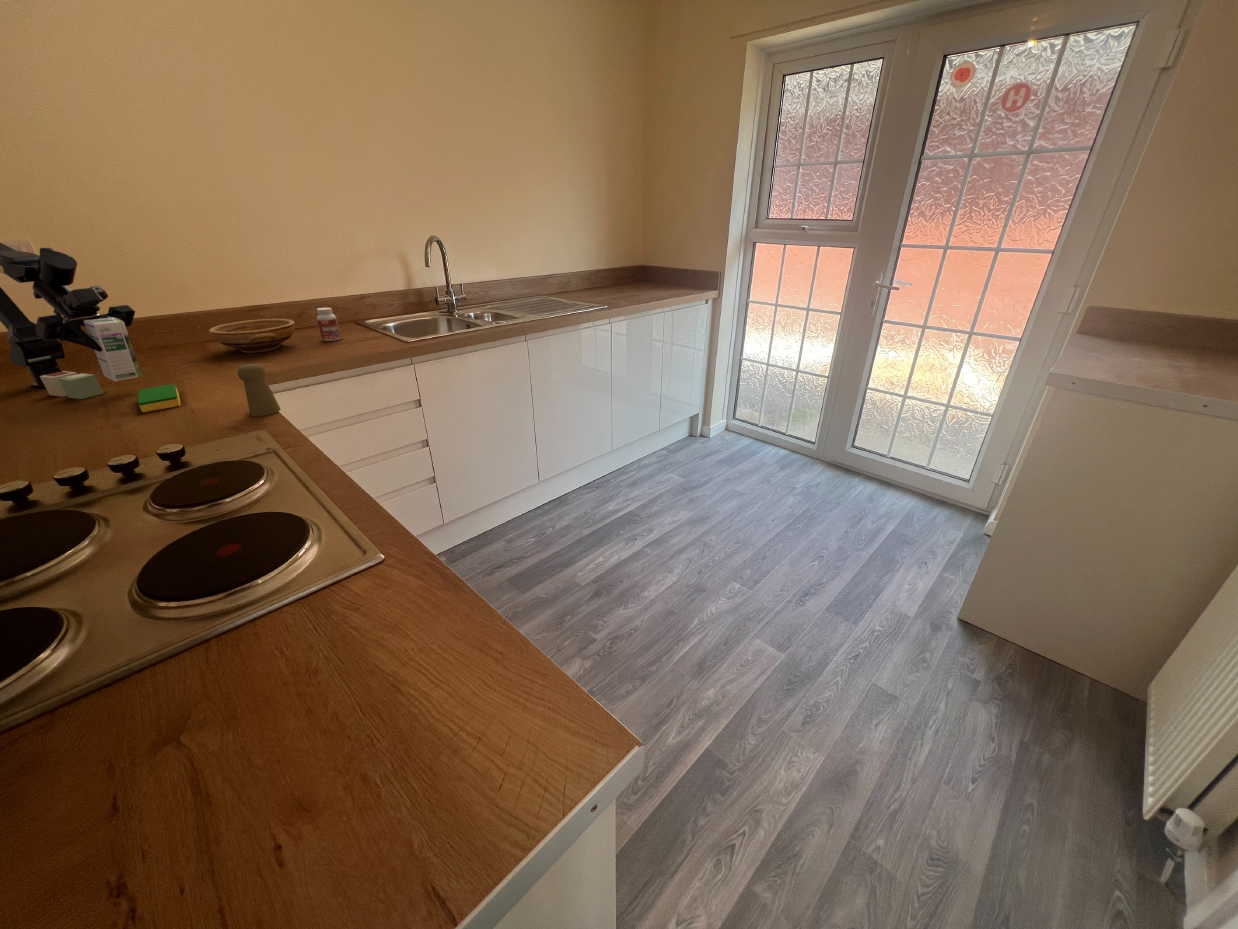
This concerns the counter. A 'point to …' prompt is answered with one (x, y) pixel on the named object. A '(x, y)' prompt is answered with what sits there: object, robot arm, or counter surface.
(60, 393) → the cream letter block
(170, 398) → the dish sponge
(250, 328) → the wooden bowl
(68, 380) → the sage letter block
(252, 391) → the sage salt shaker
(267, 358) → the counter surface
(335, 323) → the pill bottle
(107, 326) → the syrup box
